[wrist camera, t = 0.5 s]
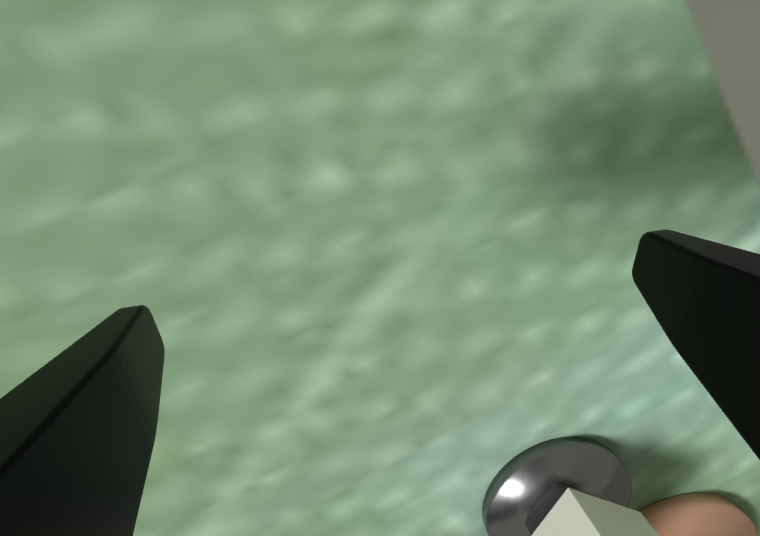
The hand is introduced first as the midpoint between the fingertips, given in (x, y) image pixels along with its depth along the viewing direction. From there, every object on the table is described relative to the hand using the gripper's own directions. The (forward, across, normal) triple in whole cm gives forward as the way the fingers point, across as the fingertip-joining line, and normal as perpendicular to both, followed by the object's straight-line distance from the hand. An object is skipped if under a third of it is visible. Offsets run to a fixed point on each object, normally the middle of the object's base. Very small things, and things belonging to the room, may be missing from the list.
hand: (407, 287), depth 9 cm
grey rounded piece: (+10, -11, +26) cm, 30 cm away
